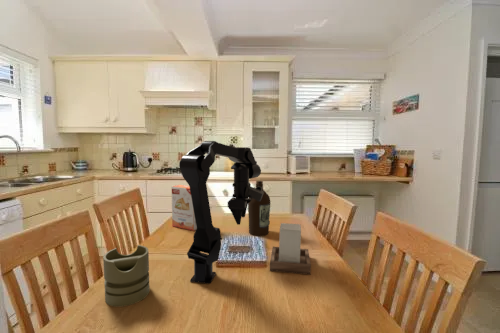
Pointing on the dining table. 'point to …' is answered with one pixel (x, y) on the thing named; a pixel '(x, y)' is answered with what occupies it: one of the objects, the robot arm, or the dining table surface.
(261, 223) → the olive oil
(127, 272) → the green divided utensil holder
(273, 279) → the dining table surface
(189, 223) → the cracker box
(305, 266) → the holder tray
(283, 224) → the supplement box
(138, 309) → the dining table surface
